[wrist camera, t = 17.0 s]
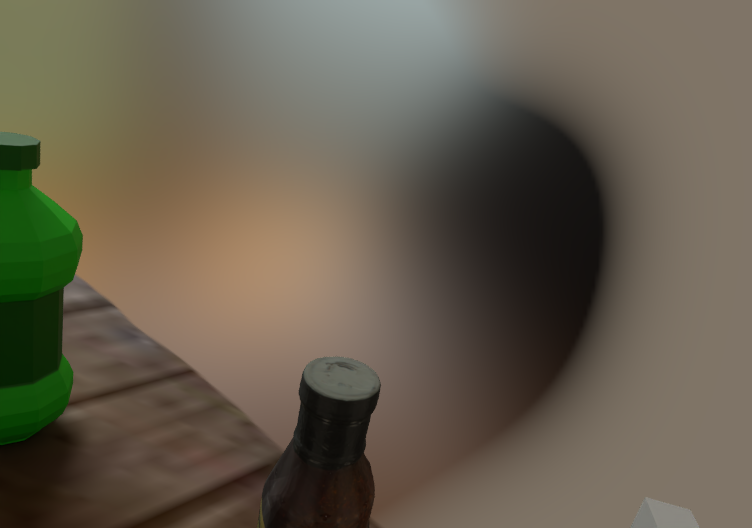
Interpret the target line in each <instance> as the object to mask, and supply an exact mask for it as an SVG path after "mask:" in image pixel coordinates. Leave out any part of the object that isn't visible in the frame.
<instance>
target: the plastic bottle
mask: <svg viewBox="0 0 752 528" xmlns="http://www.w3.org/2000/svg"><path fill="white" fill-rule="evenodd" d="M39 165H40V140H37V139H35V138H33V137H31V136H26V135H21V134H16V133H8V132H0V445H5V444H9V443H14V442H19V441H24V440H26V439H27V438H29V437H30V436H32V435H33V434H35V433H37V432H38V431H40V429H42V428H43V427H45V426H46V425H48V424H50V423H51V422H53V421H54V420H56V419H57V418H58V417H59V416H60V415H62V414H63V412H64V410H65V408H66V406H67V404H68V402H69V397H70V393H71V389H72V385H73V370H72V368H71V366H70V364H69V362H68V361H67V359H66V358H65V357H64V355H63V354H62V330H63V293H64V287H65V286H66V285H67V284H68V283H70V282H71V281H72V280H73V278H74V275H75V272H76V269H77V266H78V262H79V259H80V256H81V252H82V240H83V235H82V233H81V230H80V228H79V225H78V223H77V221H76V220H75V219H74V218H73V217H72V216H71V215H69V214H68V213H67V212H66V211H65V210H64V209H62V208H61V207H60V206H59V205H58V204H57V203H55V202H54V201H53V200H52V199H50V198H49V197H48V196H46V195H45V194H44V193H42V192H41V191H39V190H38V189H37V188H35V187H34V186H32V169H37V167H38V166H39Z"/></svg>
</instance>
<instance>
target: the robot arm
mask: <svg viewBox="0 0 752 528" xmlns="http://www.w3.org/2000/svg"><path fill="white" fill-rule="evenodd" d="M630 528H699V526H698V524H697V522H696V520H695V518H694V516H693V514H692V512H691V510H689V509H686V508H682V507H678V506H675V505H671V504H668V503H664V502H661V501H657V500H654V499H650V498H645V499H644V501H643V503H642V505H641V507H640V509H639V511H638V513H637V515H636V517H635V519H634V521H633V523H632V525H631V527H630Z"/></svg>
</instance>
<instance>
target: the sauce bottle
mask: <svg viewBox="0 0 752 528" xmlns="http://www.w3.org/2000/svg"><path fill="white" fill-rule="evenodd" d="M380 386H381V384H380V380H379V377H378V376H377V374H376V372H375V371H374V370H373V369H371V368H370V367H369V366H367V365H366V364H364V363H362V362H359V361H357V360H354V359H351V358H344V357H323V358H318V359H315V360H313V361H311V362H310V363H309V364H308V365H307V366H306V368H305V369H304V371H303V374H302V379H301V383H300V388H299V396H300V400H301V405H300V411H299V417H298V423H297V426H296V428H295V431H294V437H293V439H292V440H291V442H290V443H289V445H288V446H287V448H286V450H285V451H284V453H283V454H282V456H281V457H280V459H279V461H278V462H277V464H276V465H275V467H274V468H273V470H272V472H271V473H270V475H269V476H268V478H267V480H266V482H265V485H264V488H263V493H262V499H261V506H260V512H259V519H258V525H257V528H369V518H370V514H371V509H372V506H373V501H374V495H375V494H374V491H375V489H374V481H373V475H372V471H371V466H370V463H369V461H368V460H367V458H366V456H365V455H364V450H365V447H366V439H365V438H366V434H367V430H368V426H369V422H370V417H371V414H372V413H373V411H374V409H375V407H376V405H377V401H378V398H379V392H380Z"/></svg>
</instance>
